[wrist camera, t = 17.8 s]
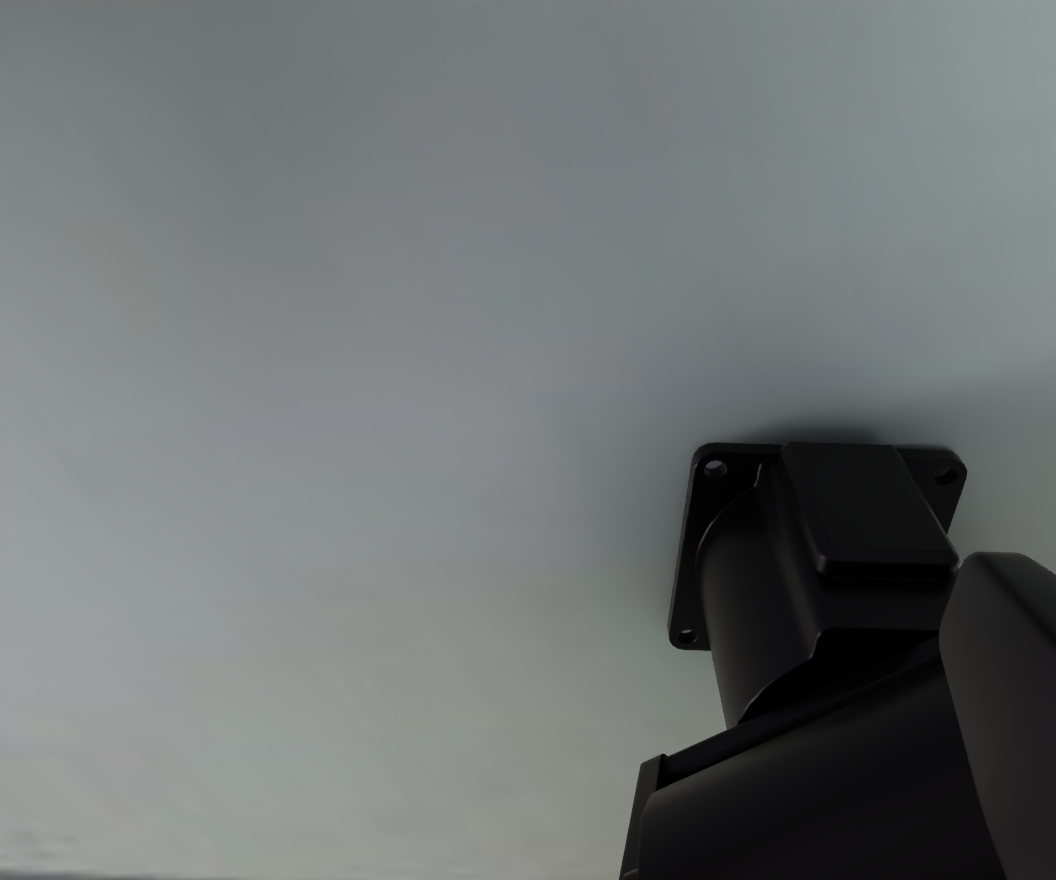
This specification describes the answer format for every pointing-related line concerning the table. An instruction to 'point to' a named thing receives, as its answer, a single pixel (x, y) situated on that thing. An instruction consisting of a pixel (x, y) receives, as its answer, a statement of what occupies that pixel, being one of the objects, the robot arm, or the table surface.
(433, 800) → the table surface
